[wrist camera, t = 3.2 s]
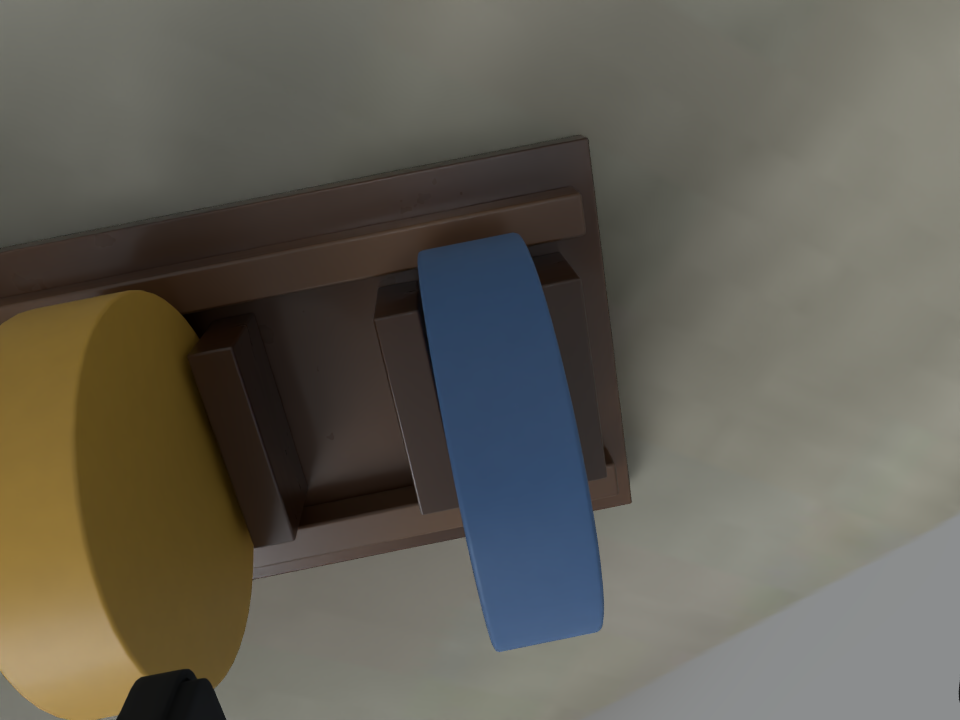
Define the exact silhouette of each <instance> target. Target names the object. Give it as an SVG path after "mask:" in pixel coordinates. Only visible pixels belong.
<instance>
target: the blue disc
mask: <svg viewBox="0 0 960 720" xmlns="http://www.w3.org/2000/svg"><path fill="white" fill-rule="evenodd" d="M418 274H419V283H420V290H421V298H422V305H423V311H424V318H425V324H426V330H427V337H428V343H429V349H430V355H431V360H432V366H433V372H434V378H435V383H436V389H437V394H438V400H439V405H440V411H441V416H442V421H443V427H444V432H445V437H446V443H447V448H448V453H449V458H450V463H451V468H452V473H453V478H454V483H455V488H456V493H457V498H458V503H459V508H460V513H461V517H462V522H463V527H464V532H465V536H466V541H467V546H468V550H469V555H470V559H471V564H472V568H473V573H474V577H475V581H476V586H477V590H478V594H479V598H480V602H481V607H482V611H483V615H484V618H485V622H486V626H487V629H488V633H489V636H490V639H491V642H492V645H493V647H494V648H495V650H496V651H498V652H502V651H506V650H511V649H516V648H521V647H526V646H531V645H536V644H541V643H546V642H551V641H555V640H560V639H565V638H570V637H575V636H580V635H585V634H590V633H595V632H598V631H599V630H600V629H601V628H602V624H603V617H604V596H603V582H602V572H601V563H600V555H599V548H598V540H597V533H596V527H595V520H594V514H593V508H592V502H591V496H590V491H589V485H588V479H587V474H586V469H585V464H584V458H583V453H582V448H581V443H580V438H579V433H578V429H577V424H576V419H575V414H574V410H573V405H572V401H571V396H570V392H569V387H568V383H567V379H566V375H565V371H564V366H563V362H562V358H561V354H560V350H559V346H558V342H557V338H556V335H555V331H554V327H553V323H552V320H551V316H550V313H549V309H548V306H547V302H546V299H545V295H544V292H543V289H542V286H541V283H540V279H539V276H538V273H537V271H536V268H535V265H534V262H533V260H532V257H531V255H530V252H529V250H528V248H527V246H526V244H525V242H524V240H523V239H522V237H521V236H520V235H519V234H517V233H508V234H503V235H498V236H493V237H488V238H483V239H478V240H473V241H467V242H462V243H457V244H452V245H447V246H442V247H437V248H432V249H427V250H422V251H420V252H419V253H418Z"/></svg>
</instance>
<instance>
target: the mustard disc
mask: <svg viewBox="0 0 960 720" xmlns="http://www.w3.org/2000/svg"><path fill="white" fill-rule="evenodd" d="M199 340H200V339H199V337H198V336H197V334H196V333H195V331H194V330H193V328H192V327H191V326H190V325H189V323H188V322H187V321H186V319H185V318H184V317H183V316H182V315H181V314H180V313H179V312H178V311H177V310H176V309H175V308H174V307H173V306H172V305H171V304H169V303H168V302H167V301H166V300H164V299H162V298H161V297H159V296H157V295H155V294H153V293H149V292H145V291H142V290H128V291H123V292H118V293H113V294H107V295H102V296H97V297H92V298H87V299H82V300H77V301H72V302H67V303H62V304H57V305H51V306H46V307H41V308H36V309H32V310H29V311H25V312H22V313H19V314H17V315H15V316H14V317H12V318H10V319H9V320H7V321H5V322H4V323H2V324H1V325H0V671H1V672H2V674H3V675H4V677H5V678H6V679H7V680H8V681H9V682H10V683H11V684H12V686H13V687H14V688H15V689H16V690H17V691H18V692H19V693H20V694H21V695H22V696H23V697H24V698H26V699H27V700H28V701H30V702H31V703H32V704H34V705H35V706H37V707H38V708H39V709H41V710H43V711H45V712H47V713H50V714H52V715H54V716H56V717H59V718H64V719H69V720H96V719H101V718H106V717H111V716H116V715H119V713H120V711H121V709H122V707H123V704H124V702H125V700H126V698H127V696H128V694H129V691H130V689H131V687H132V686H133V684H134V683H135V681H136V680H137V679H139V678H140V677H144V676H149V675H154V674H159V673H165V672H170V671H175V670H180V669H190V670H191V671H193V672H194V674H195V676H196V677H197V679H200V678H207V679H208V680H209V681H210V683H211V685H212V687H213V689H214V688H215V687H217V686H218V684H219V683H220V682H221V681H222V680H223V679H224V677H225V676H226V674H227V673H228V671H229V669H230V668H231V666H232V664H233V662H234V660H235V658H236V655H237V653H238V650H239V648H240V645H241V641H242V638H243V635H244V632H245V627H246V622H247V618H248V613H249V606H250V599H251V590H252V579H253V543H252V540H251V537H250V534H249V531H248V529H247V526H246V523H245V520H244V517H243V514H242V512H241V509H240V506H239V503H238V500H237V498H236V495H235V492H234V489H233V486H232V483H231V481H230V478H229V475H228V472H227V469H226V466H225V464H224V461H223V458H222V455H221V452H220V450H219V447H218V444H217V441H216V438H215V435H214V433H213V430H212V427H211V424H210V421H209V418H208V416H207V413H206V410H205V407H204V404H203V401H202V399H201V396H200V393H199V390H198V387H197V385H196V382H195V379H194V376H193V373H192V370H191V368H190V365H189V362H188V359H187V355H188V354H189V353H190V351H191V350H192V349H193V347H194V346H195V345H196V343H197V342H198V341H199Z"/></svg>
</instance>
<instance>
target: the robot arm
mask: <svg viewBox="0 0 960 720" xmlns="http://www.w3.org/2000/svg"><path fill="white" fill-rule="evenodd" d="M959 701H960V684H959ZM116 720H226V718H225V715H224V713H223V711H222V708H221V706H220V703H219V701H218V699H217V696H216V694H215V691H214V689H213V687H212V685H211V683H210V681H209V680H208V679H207V678H200V679H197V677H196V676H195V674H194V672H193V671H191V670H190V669H180V670H175V671H170V672H165V673H159V674H154V675H149V676H144V677H140V678H139V679H137V680H136V681H135V683H134V684H133V686H132V687H131V689H130V691H129V694H128V696H127V698H126V700H125V702H124V704H123V707H122V709H121V711H120V713H119V715H118V717H117V719H116Z"/></svg>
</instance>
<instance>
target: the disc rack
mask: <svg viewBox="0 0 960 720" xmlns="http://www.w3.org/2000/svg"><path fill="white" fill-rule="evenodd" d="M508 233H517V234H519V235H520V236H521V237H522V239H523V240H524V242H525V244H526V246H527V248H528V250H529V252H530V255H531V257H532V260H533V262H534V265H535V268H536V271H537V273H538V276H539V279H540V283H541V286H542V289H543V292H544V295H545V299H546V302H547V306H548V309H549V313H550V316H551V320H552V323H553V327H554V331H555V335H556V338H557V342H558V346H559V350H560V354H561V358H562V362H563V366H564V371H565V375H566V379H567V383H568V387H569V392H570V396H571V401H572V405H573V410H574V414H575V419H576V424H577V429H578V433H579V438H580V443H581V448H582V453H583V458H584V464H585V469H586V474H587V479H588V485H589V491H590V496H591V502H592V508H593V511H595V510H600V509H605V508H610V507H615V506H620V505H625V504H630V503H631V502H632V500H631V491H630V483H629V475H628V466H627V458H626V450H625V441H624V433H623V425H622V416H621V408H620V399H619V391H618V383H617V374H616V366H615V358H614V349H613V341H612V333H611V324H610V316H609V308H608V299H607V291H606V282H605V274H604V266H603V257H602V249H601V241H600V232H599V224H598V216H597V207H596V199H595V191H594V182H593V174H592V165H591V157H590V149H589V140H588V138H587V137H584V136H582V135H576V136H571V137H566V138H561V139H556V140H550V141H545V142H540V143H535V144H530V145H525V146H520V147H515V148H510V149H504V150H499V151H494V152H489V153H484V154H479V155H474V156H469V157H464V158H458V159H453V160H448V161H443V162H438V163H433V164H428V165H423V166H417V167H412V168H407V169H402V170H397V171H392V172H387V173H382V174H377V175H371V176H366V177H361V178H356V179H351V180H346V181H341V182H336V183H331V184H325V185H320V186H315V187H310V188H305V189H300V190H295V191H290V192H284V193H279V194H274V195H269V196H264V197H259V198H254V199H249V200H244V201H238V202H233V203H228V204H223V205H218V206H213V207H208V208H203V209H198V210H192V211H187V212H182V213H177V214H172V215H167V216H162V217H157V218H151V219H146V220H141V221H136V222H131V223H126V224H121V225H116V226H111V227H105V228H100V229H95V230H90V231H85V232H80V233H75V234H70V235H65V236H59V237H54V238H49V239H44V240H39V241H34V242H29V243H24V244H18V245H13V246H8V247H3V248H0V325H1V324H2V323H4V322H5V321H7V320H9V319H10V318H12V317H14V316H15V315H17V314H19V313H22V312H25V311H29V310H32V309H36V308H41V307H46V306H51V305H57V304H62V303H67V302H72V301H77V300H82V299H87V298H92V297H97V296H102V295H107V294H113V293H118V292H123V291H128V290H142V291H145V292H149V293H153V294H155V295H157V296H159V297H161V298H162V299H164V300H166V301H167V302H168V303H169V304H171V305H172V306H173V307H174V308H175V309H176V310H177V311H178V312H179V313H180V314H181V315H182V316H183V317H184V318H185V319H186V321H187V322H188V323H189V325H190V326H191V327H192V328H193V330H194V331H195V333H196V334H197V336H198V337H199V339H200V340H199V341H198V342H197V343H196V345H195V346H194V347H193V349H192V350H191V351H190V353H189V354H188V355H187V359H188V362H189V365H190V368H191V370H192V373H193V376H194V379H195V382H196V385H197V387H198V390H199V393H200V396H201V399H202V401H203V404H204V407H205V410H206V413H207V416H208V418H209V421H210V424H211V427H212V430H213V433H214V435H215V438H216V441H217V444H218V447H219V450H220V452H221V455H222V458H223V461H224V464H225V466H226V469H227V472H228V475H229V478H230V481H231V483H232V486H233V489H234V492H235V495H236V498H237V500H238V503H239V506H240V509H241V512H242V514H243V517H244V520H245V523H246V526H247V529H248V531H249V534H250V537H251V540H252V543H253V579H252V580H254V579H259V578H263V577H268V576H273V575H278V574H283V573H288V572H293V571H298V570H303V569H308V568H313V567H318V566H323V565H328V564H333V563H338V562H343V561H348V560H353V559H358V558H363V557H367V556H372V555H377V554H382V553H387V552H392V551H397V550H402V549H407V548H412V547H417V546H422V545H427V544H432V543H437V542H442V541H447V540H452V539H457V538H462V537H466V536H465V532H464V527H463V522H462V517H461V513H460V508H459V503H458V498H457V493H456V488H455V483H454V478H453V473H452V468H451V463H450V458H449V453H448V448H447V443H446V437H445V432H444V427H443V421H442V416H441V411H440V405H439V400H438V394H437V389H436V383H435V378H434V372H433V366H432V360H431V355H430V349H429V343H428V337H427V330H426V324H425V318H424V311H423V305H422V298H421V290H420V283H419V274H418V253H419V252H420V251H422V250H427V249H432V248H437V247H442V246H447V245H452V244H457V243H462V242H467V241H473V240H478V239H483V238H488V237H493V236H498V235H503V234H508Z"/></svg>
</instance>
